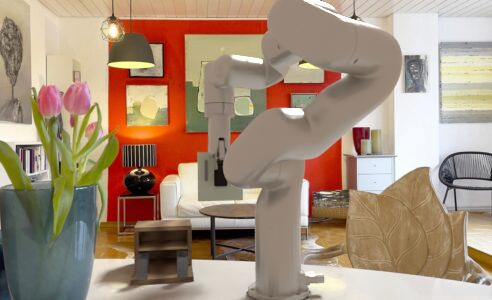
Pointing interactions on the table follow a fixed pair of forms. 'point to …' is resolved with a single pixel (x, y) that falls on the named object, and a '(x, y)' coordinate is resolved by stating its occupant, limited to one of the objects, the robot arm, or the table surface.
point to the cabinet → (163, 249)
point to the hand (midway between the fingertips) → (220, 185)
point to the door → (207, 182)
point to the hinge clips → (143, 265)
